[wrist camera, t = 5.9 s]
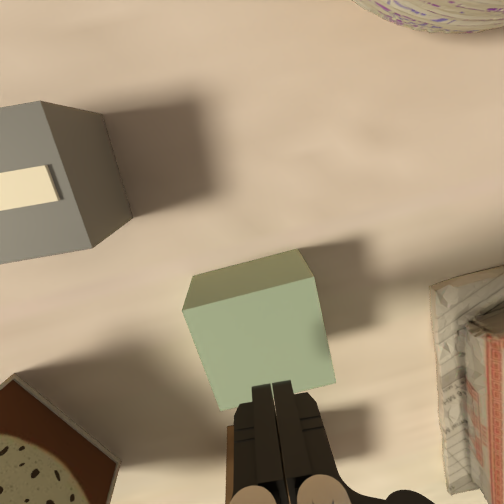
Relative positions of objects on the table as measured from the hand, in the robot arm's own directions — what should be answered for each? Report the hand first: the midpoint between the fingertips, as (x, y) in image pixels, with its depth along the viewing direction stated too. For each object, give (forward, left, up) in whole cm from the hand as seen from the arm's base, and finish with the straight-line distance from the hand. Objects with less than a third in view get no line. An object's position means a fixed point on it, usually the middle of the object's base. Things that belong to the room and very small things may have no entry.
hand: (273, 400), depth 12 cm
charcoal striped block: (-9, -8, -7) cm, 14 cm away
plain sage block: (0, 0, -7) cm, 7 cm away
